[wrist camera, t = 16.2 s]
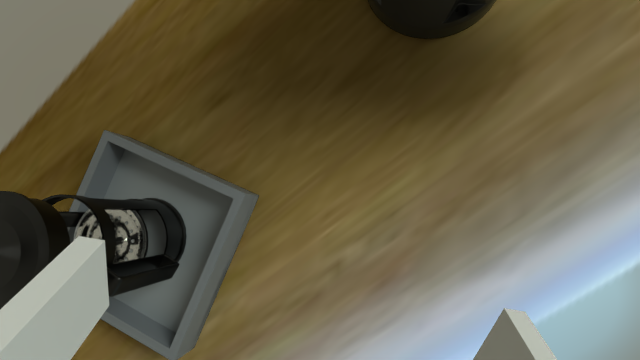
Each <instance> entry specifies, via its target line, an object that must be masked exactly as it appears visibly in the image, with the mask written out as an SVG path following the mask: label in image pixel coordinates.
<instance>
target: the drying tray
mask: <svg viewBox="0 0 640 360" xmlns="http://www.w3.org/2000/svg"><path fill="white" fill-rule="evenodd" d="M76 195H79V196H84V197H88V198H99V199H119V200H126V199H144V198H158V199H162V200H165V201H166V202H168V203H170V204H171V205H173V206H174V207H175V208H176V209H177V210H178V212H179V213H180V214H181V216H182V218H183V220H184V224H185V227H186V235H187V237H186V246H185V250H184V253H183V255H182V257H181V259H180V260H179V262H178V263H179V264H180V265H179V267H178V269H177V270H176V272H175V274H174V275H173V277H172V278H171V279H168V280H165V281H162V282H158V283H155V284H152V285H148V286H145V287H142V288H139V289H135V290H132V291H129V292H126V293H122V294H119V295H116V296H112V297H109V307H108V308H107V309H106V311H105V312H104V314H103V315H102V316H101V318H100V319H102V320H104V321H105V322H107V323H109V324H110V325H112V326H114V327H115V328H117V329H119V330H120V331H122V332H124V333H125V334H127V335H129V336H130V337H132V338H134V339H135V340H137V341H139V342H141V343H142V344H144V345H146V346H147V347H149V348H151V349H152V350H154V351H156V352H157V353H159V354H161V355H162V356H164V357H166V358H167V359H169V360H177V359H179V358H180V357H182V356H183V355H185V354H186V353H187V352H189V351H190V350H192V349H193V348H194V347H195V345H196V342H197V340H198V338H199V335H200V333H201V331H202V328H203V326H204V324H205V321H206V319H207V317H208V314H209V312H210V309H211V307H212V305H213V302H214V300H215V298H216V295H217V293H218V291H219V288H220V286H221V284H222V281H223V279H224V277H225V274H226V272H227V270H228V267H229V265H230V263H231V260H232V258H233V256H234V253H235V251H236V249H237V246H238V244H239V242H240V239H241V237H242V235H243V232H244V230H245V228H246V225H247V223H248V221H249V218H250V216H251V214H252V211H253V209H254V207H255V204H256V202H257V200H258V197H259V195H257V194H255V193H252V192H250V191H248V190H246V189H243V188H241V187H239V186H237V185H235V184H232V183H230V182H228V181H226V180H223V179H221V178H219V177H217V176H215V175H212V174H210V173H208V172H206V171H203V170H201V169H199V168H197V167H195V166H192V165H190V164H188V163H186V162H183V161H181V160H179V159H177V158H175V157H172V156H170V155H168V154H166V153H163V152H161V151H159V150H157V149H154V148H152V147H150V146H148V145H146V144H143V143H141V142H139V141H137V140H134V139H132V138H130V137H127V136H124V135H120V134H117V133H113V132H110V131H107V130H104V132H103V134H102V137H101V139H100V141H99V144H98V146H97V148H96V151H95V153H94V155H93V157H92V160H91V162H90V164H89V167H88V169H87V171H86V174H85V176H84V178H83V180H82V183H81V185H80V187H79V190H78V192H77V194H76ZM88 209H89V208H88V207H87V206H86V205H85V204H84V203H82V202H80V201H78V200H76V199H74V201H73V203H72V206H71V208H70V210H69V212H86V211H87V210H88ZM139 213H140V214H141V216H142V218H143V219H144V222H145V224H146V227H147V231H148V250H147V254H146V257H150V256H155V255H161V254H164V251H165V247H166V230H165V226H164V223H163V221H162V219H161V217H160V215H159V214H158V212H157V211H156V210H141V211H139ZM67 228H68V232H69V237H70V244H71V243H72V242H73V239H74V233H75V230H76V227H67Z"/></svg>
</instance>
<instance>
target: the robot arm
mask: <svg viewBox="0 0 640 360" xmlns="http://www.w3.org/2000/svg"><path fill="white" fill-rule="evenodd" d="M495 1H496V0H368V2H369V4H370V6H371V8H372V10H373V11H374V13H375V14H376V15H377V17H378V18H379V19H380V20H381V21H382V22H383V23H384V24H386V25H387V26H388V27H390V28H392V29H393V30H395V31H397V32H399V33H402V34H404V35H407V36H411V37H416V38H439V37H445V36H449V35H452V34H455V33H458V32H460V31H462V30H464V29H466V28H468V27H470V26H471V25H473V24H474V23H476V22H477V21H478V20H480V19H481V18H482V17H483V16H484V15H485V14H486V13H487V12H488V11H489V10H490V8H491V7H492V6H493V4H494V3H495ZM108 307H109V294H108V279H107V264H106V250H105V240H100V239H94V238H88V237H82V236H78V237H77V238H76V239H75V240H74V241H73V242H72V243H71V244H70V245H69V246H68V247H67V248H66V249H64V250H63V251H62V252H61V253H60V254H59V255H58V256H57V257H56V258H55V259H54V260H53V261H52V262H51V263H49V264H48V265H47V266H46V267H45V268H44V269H43V270H42V271H41V272H40V273H39V274H38V275H37V276H36V277H34V278H33V279H32V280H31V281H30V282H29V283H28V284H27V285H26V286H25V287H24V288H23V289H22V290H21V291H20V292H18V293H17V294H16V295H15V296H14V297H13V298H12V299H11V300H10V301H9V302H8V303H7V304H6V305H5V306H3V307H2V308H1V309H0V360H71V358H72V357H73V356H74V354H75V353H76V351H77V350H78V349H79V347H80V346H81V344H82V343H83V342H84V340H85V339H86V337H87V336H88V335H89V333H90V332H91V330H92V329H93V328H94V326H95V325H96V323H97V322H98V321H99V319H100V318H101V316H102V315H103V314H104V312H105V311H106V309H107V308H108ZM473 360H557V359H556V357H555V356H554V354H553V353H552V351H551V350H550V348H549V347H548V345H547V344H546V342H545V341H544V339H543V338H542V336H541V335H540V333H539V332H538V330H537V329H536V327H535V326H534V324H533V323H532V321H531V320H530V318H529V317H528V315H527V314H526V312H523V311H517V310H511V309H505V308H504V310H503V311H502V313H501V315H500V316H499V318H498V319H497V321H496V323H495V324H494V326H493V328H492V329H491V331H490V333H489V334H488V336H487V338H486V339H485V341H484V343H483V344H482V346H481V348H480V349H479V351H478V352H477V354H476V356H475V357H474V359H473Z"/></svg>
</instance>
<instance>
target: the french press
mask: <svg viewBox="0 0 640 360" xmlns="http://www.w3.org/2000/svg"><path fill="white" fill-rule="evenodd" d="M66 198H73V199H76V200H78V201H80V202H82V203H84V204H85V205H86V206H87V207H88V208H89V209H88V210H87V211H86V212H58V211H57V210H56V209H55V208H54V207H53V206H52V205H53V204H55V203H56V202H58V201H61V200H63V199H66ZM141 210H156V211H157V212H158V214H159V215H160V217H161V219H162V221H163V223H164V226H165V230H166V247H165V251H164V254H161V255H155V256H150V257H146V254H147V250H148V231H147V227H146V224H145V222H144V219H143V218H142V216H141V214H140V213H139V211H141ZM67 227H76V230H75V233H74V239H73V241H74V240H75V239H76V238H77V237H78V236H82V237H88V238H94V239H100V240H105V250H106V264H107V279H108V294H109V297H112V296H116V295H119V294H122V293H126V292H129V291H132V290H135V289H139V288H142V287H145V286H148V285H152V284H155V283H158V282H162V281H165V280H168V279H171V278H172V277H173V275H174V274H175V272H176V270H177V269H178V267H179V265H180V264H179V263H178V262H179V260H180V259H181V257H182V255H183V253H184V250H185V246H186V237H187V235H186V227H185V224H184V220H183V218H182V216H181V214H180V213H179V212H178V210H177V209H176V208H175V207H174V206H173V205H171V204H170V203H168V202H166V201H165V200H162V199H158V198H144V199H126V200H119V199H99V198H88V197H84V196H79V195H54V196H50V197H48V198H46V199H43V200H39V199H31V198H28V197H26V196H24V195H22V194H19V193H16V192H10V191H0V309H1V308H2V307H3V306H5V305H6V304H7V303H8V302H9V301H10V300H11V299H12V298H13V297H14V296H15V295H16V294H17V293H18V292H20V291H21V290H22V289H23V288H24V287H25V286H26V285H27V284H28V283H29V282H30V281H31V280H32V279H33V278H34V277H36V276H37V275H38V274H39V273H40V272H41V271H42V270H43V269H44V268H45V267H46V266H47V265H48V264H49V263H51V262H52V261H53V260H54V259H55V258H56V257H57V256H58V255H59V254H60V253H61V252H62V251H63V250H64V249H66V248H67V247H68V246H69V245H70V237H69V232H68V228H67Z"/></svg>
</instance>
